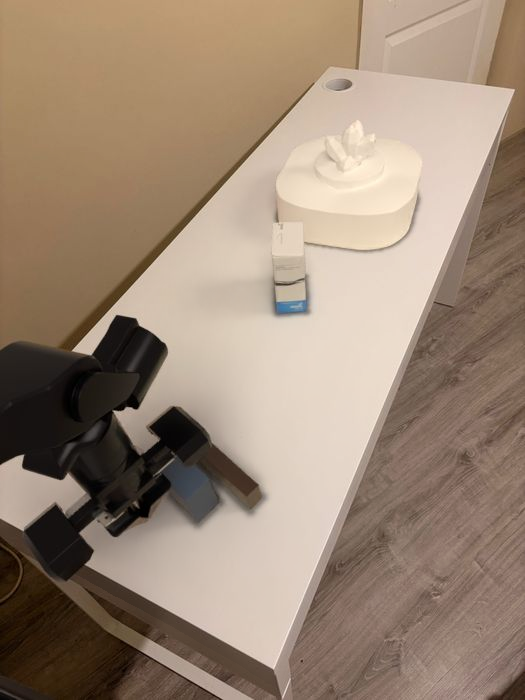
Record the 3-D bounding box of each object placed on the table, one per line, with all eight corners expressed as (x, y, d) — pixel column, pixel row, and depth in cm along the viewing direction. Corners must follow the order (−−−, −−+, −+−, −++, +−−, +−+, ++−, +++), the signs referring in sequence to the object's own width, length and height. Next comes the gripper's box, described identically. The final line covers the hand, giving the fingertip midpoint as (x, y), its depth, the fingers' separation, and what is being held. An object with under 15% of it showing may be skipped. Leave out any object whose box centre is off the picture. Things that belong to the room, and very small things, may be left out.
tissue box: (303, 164, 107) (301, 87, 95) (422, 177, 100) (436, 95, 88) (266, 236, 93) (257, 156, 80) (401, 256, 86) (415, 172, 73)
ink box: (307, 312, 80) (305, 256, 70) (276, 314, 80) (270, 258, 71) (305, 276, 85) (303, 219, 76) (276, 278, 85) (271, 221, 76)
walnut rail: (250, 510, 60) (246, 496, 57) (187, 450, 66) (180, 435, 63) (261, 498, 61) (258, 484, 58) (198, 440, 67) (192, 425, 64)
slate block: (209, 520, 61) (168, 533, 55) (183, 494, 64) (141, 503, 57) (235, 473, 60) (196, 481, 54) (208, 448, 63) (168, 453, 56)
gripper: (129, 341, 50) (166, 420, 63) (-44, 467, 43) (36, 529, 55) (200, 401, 45) (225, 475, 57) (16, 558, 38) (90, 605, 50)
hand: (146, 516), depth 55 cm, fingers closed
